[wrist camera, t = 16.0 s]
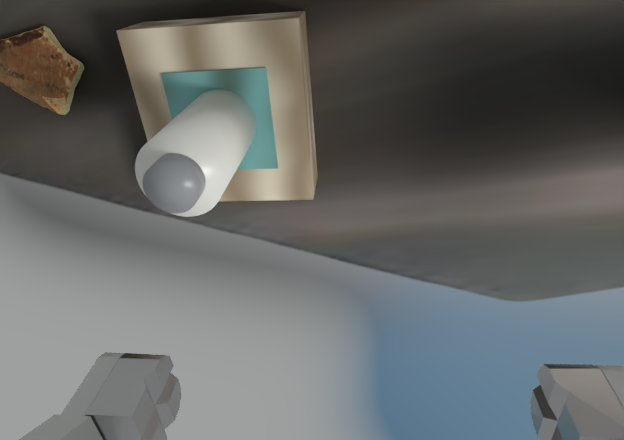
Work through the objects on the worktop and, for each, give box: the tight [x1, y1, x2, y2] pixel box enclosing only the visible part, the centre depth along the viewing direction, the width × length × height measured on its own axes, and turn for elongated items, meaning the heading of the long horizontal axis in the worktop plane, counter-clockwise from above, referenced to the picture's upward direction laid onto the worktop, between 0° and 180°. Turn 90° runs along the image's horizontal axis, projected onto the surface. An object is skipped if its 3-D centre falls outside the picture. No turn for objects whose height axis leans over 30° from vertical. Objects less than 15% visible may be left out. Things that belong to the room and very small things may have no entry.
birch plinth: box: [116, 11, 317, 201], centre depth 41 cm, size 15×16×5 cm
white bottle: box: [135, 89, 257, 217], centre depth 33 cm, size 6×6×13 cm
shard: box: [0, 26, 84, 115], centre depth 42 cm, size 11×8×2 cm
